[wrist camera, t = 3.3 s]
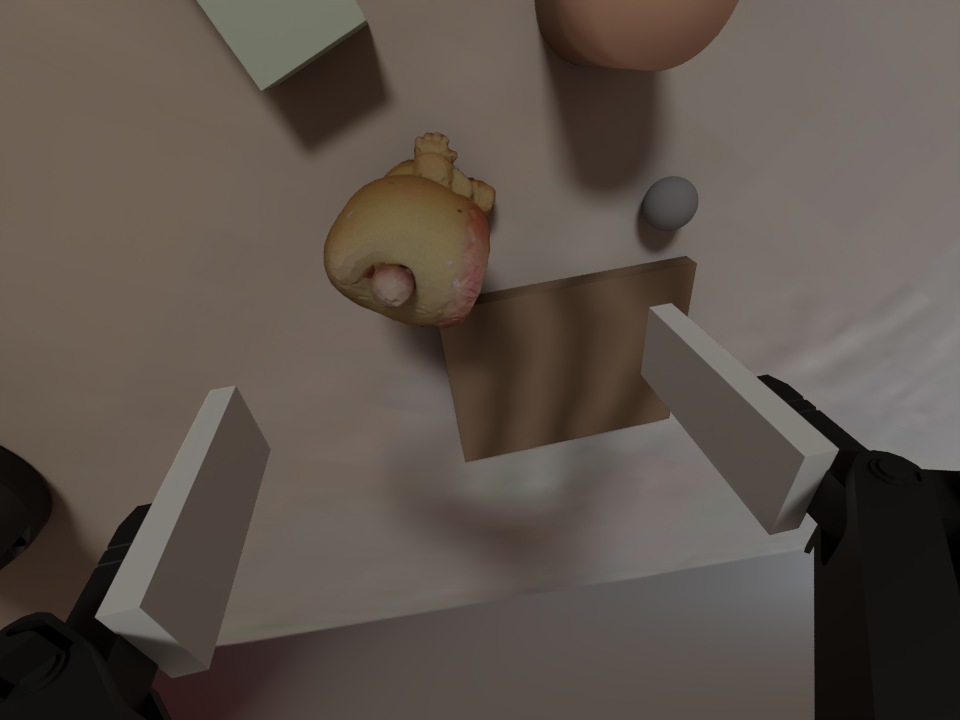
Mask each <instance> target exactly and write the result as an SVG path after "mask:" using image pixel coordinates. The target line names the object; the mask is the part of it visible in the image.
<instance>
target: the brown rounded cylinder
mask: <svg viewBox="0 0 960 720" xmlns="http://www.w3.org/2000/svg"><path fill="white" fill-rule="evenodd" d="M738 1H739V0H535V10H536V15H537V20H538V23H539V27H540V29H541V32H542V34H543V36H544V38H545V40H546V41H547V43H548V45H549V46H550V47H551V48H552V50H553V51H554V52H555V53H556V54H557V55H558V56H559V57H561V58H562V59H564V60H565V61H567V62H570V63H572V64H575V65H579V66H588V67H602V68H616V69H629V70H643V71H661V70H666V69H670V68H673V67H676V66H678V65H681V64H683V63H684V62H686V61H688V60H690V59H691V58H693V57H694V56H696V55H697V54H698V53H700V52H701V51H702V50H703V49H704V48H705V47H706V46H708V45H709V44H710V43H711V41H712V40H713V39H714V38H715V37H716V36H717V35H718V33H719V32H720V31H721V29H722V28H723V27H724V25H725V24H726V22H727V21H728V19H729V18H730V16H731V14H732V13H733V11H734V9H735V7H736V5H737V3H738Z"/></svg>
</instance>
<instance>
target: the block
mask: <svg viewBox="0 0 960 720" xmlns="http://www.w3.org/2000/svg"><path fill="white" fill-rule="evenodd" d="M197 2H198V3H199V5H200V6H201V7H202V9H203V10H204V12H205V13H206V14H207V16H208V17H209V19H210V20H211V21H212V23H213V24H214V26H215V27H216V28H217V30H218V31H219V33H220V34H221V35H222V37H223V38H224V40H225V41H226V42H227V44H228V45H229V47H230V48H231V49H232V51H233V52H234V54H235V55H236V56H237V58H238V59H239V61H240V62H241V64H242V65H243V66H244V68H245V69H246V71H247V72H248V73H249V75H250V76H251V78H252V79H253V80H254V82H255V83H256V85H257V86H258V87H259V89H260V90H261V91H263V90H266V89H269V88H272V87H276V86H277V85H279V84H280V83H282V82H283V81H285V80H286V79H288V78H289V77H291V76H292V75H294V74H295V73H297V72H298V71H300V70H301V69H303V68H304V67H306V66H307V65H309V64H310V63H311V62H313V61H314V60H316V59H317V58H319V57H320V56H322V55H323V54H325V53H326V52H328V51H329V50H331V49H332V48H334V47H335V46H337V45H338V44H340V43H341V42H343V41H344V40H346V39H347V38H348V37H350V36H351V35H353V34H354V33H356V32H357V31H359V30H360V29H362V28H363V27H365V26H366V25H368V22H367V20H366V19H365V17H364V15H363V13H362V11H361V9H360V7H359V6H358V4H357V2H356V0H197Z"/></svg>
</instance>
